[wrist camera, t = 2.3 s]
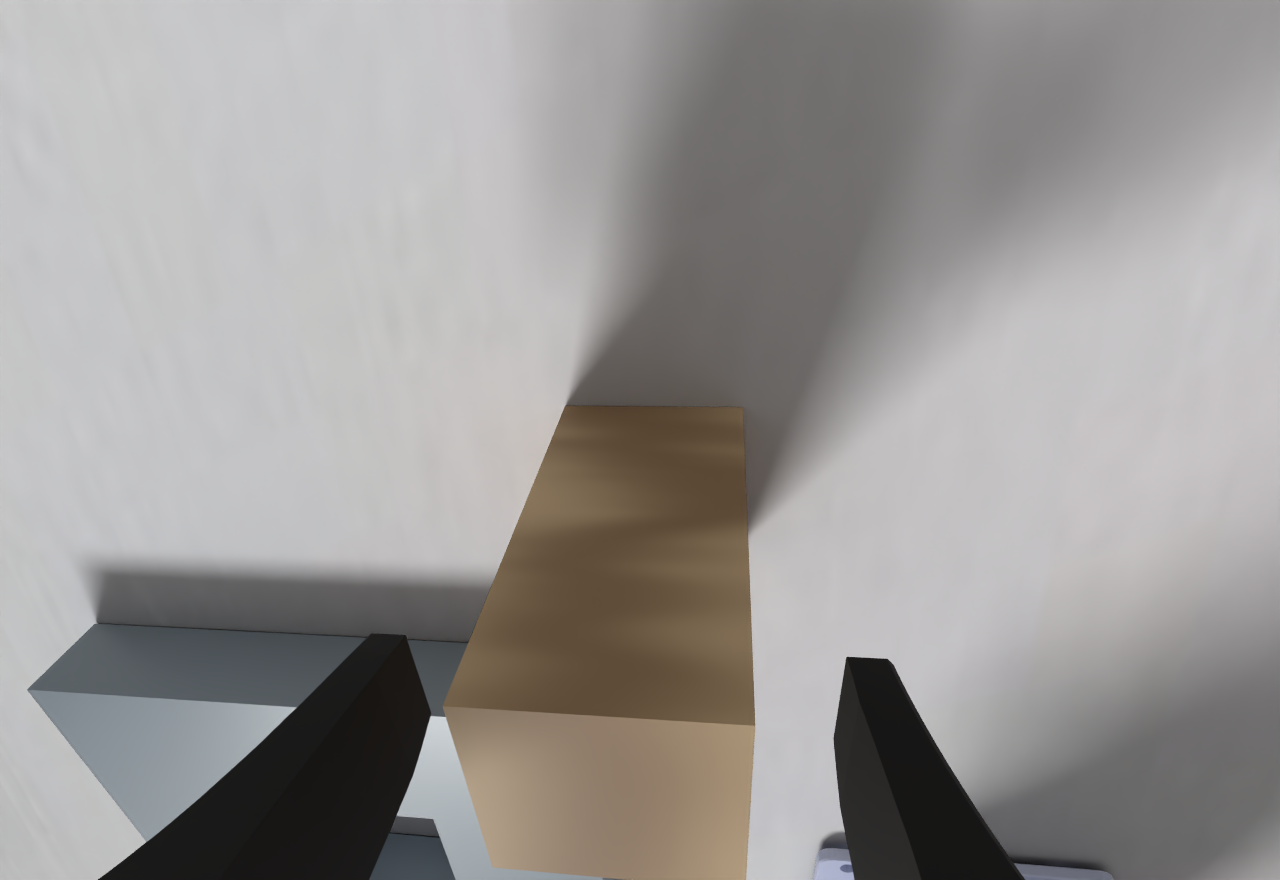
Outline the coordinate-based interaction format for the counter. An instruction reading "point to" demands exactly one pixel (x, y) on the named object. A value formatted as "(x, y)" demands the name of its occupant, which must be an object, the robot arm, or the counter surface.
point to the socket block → (246, 729)
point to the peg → (618, 656)
